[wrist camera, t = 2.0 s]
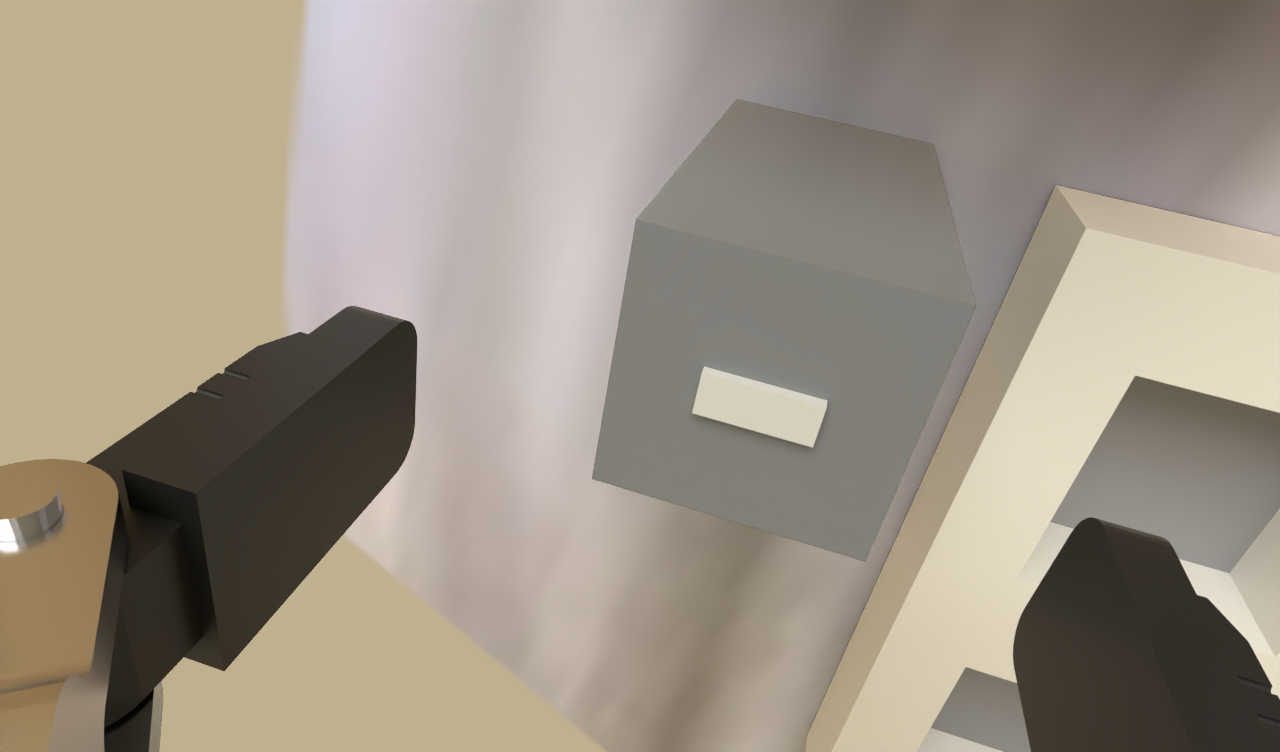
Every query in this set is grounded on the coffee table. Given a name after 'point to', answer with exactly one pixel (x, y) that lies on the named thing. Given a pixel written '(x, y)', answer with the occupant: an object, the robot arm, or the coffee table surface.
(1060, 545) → the outlet plate
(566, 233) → the coffee table surface
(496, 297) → the coffee table surface
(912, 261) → the block
